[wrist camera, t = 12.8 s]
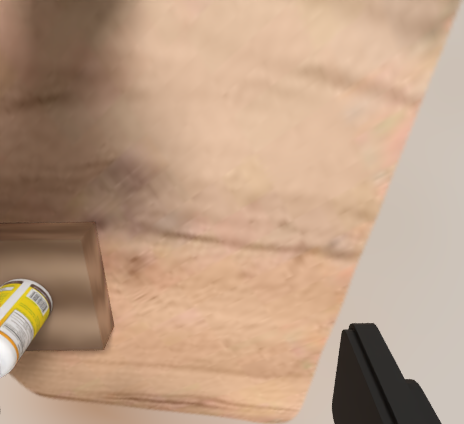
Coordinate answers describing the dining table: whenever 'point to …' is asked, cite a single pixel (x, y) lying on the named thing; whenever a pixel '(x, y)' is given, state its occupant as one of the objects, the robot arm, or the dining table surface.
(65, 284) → the walnut base
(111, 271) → the dining table surface
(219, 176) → the dining table surface
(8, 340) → the supplement bottle
